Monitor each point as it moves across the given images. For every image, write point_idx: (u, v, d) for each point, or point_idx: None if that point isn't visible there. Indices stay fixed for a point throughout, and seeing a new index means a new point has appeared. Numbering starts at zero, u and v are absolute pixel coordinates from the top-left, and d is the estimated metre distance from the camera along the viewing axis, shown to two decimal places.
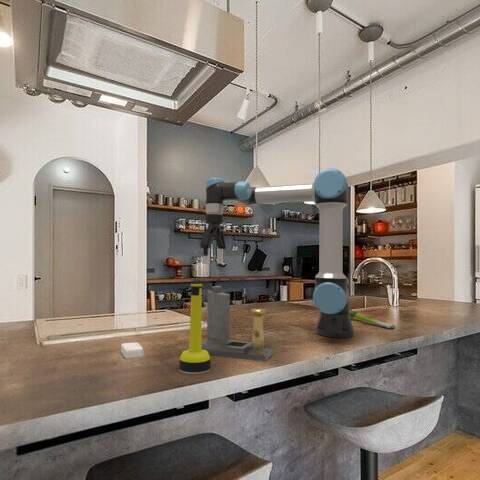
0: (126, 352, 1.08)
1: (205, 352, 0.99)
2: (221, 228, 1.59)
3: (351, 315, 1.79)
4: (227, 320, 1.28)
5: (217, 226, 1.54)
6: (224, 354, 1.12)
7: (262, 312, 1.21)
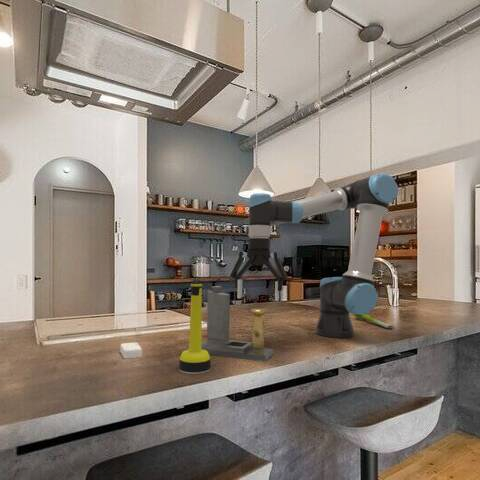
0: (124, 352, 1.08)
1: (205, 352, 0.99)
2: (274, 254, 1.22)
3: (358, 315, 1.80)
4: (227, 320, 1.28)
5: (260, 252, 1.23)
6: (224, 354, 1.12)
7: (262, 312, 1.21)
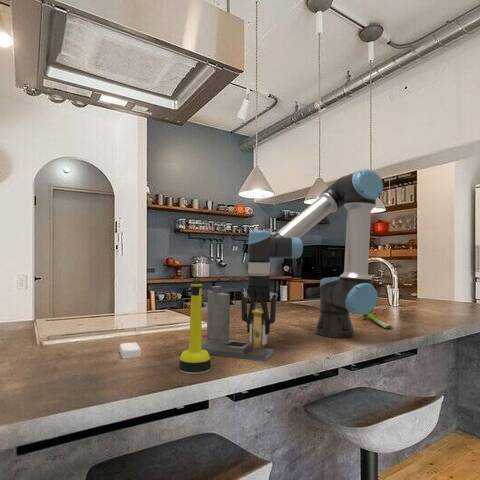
0: (123, 352, 1.08)
1: (205, 352, 0.99)
2: (273, 296, 1.21)
3: (365, 314, 1.81)
4: (227, 320, 1.28)
5: (262, 287, 1.22)
6: (224, 354, 1.12)
7: (262, 312, 1.21)
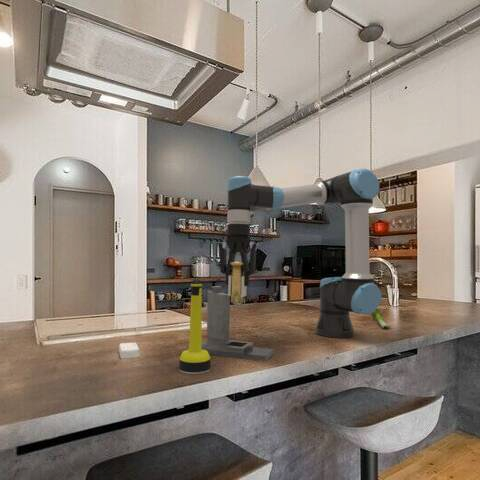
0: (121, 352, 1.08)
1: (205, 352, 0.99)
2: (253, 245, 1.14)
3: (373, 315, 1.81)
4: (227, 320, 1.28)
5: (241, 236, 1.15)
6: (224, 354, 1.12)
7: (241, 264, 1.14)
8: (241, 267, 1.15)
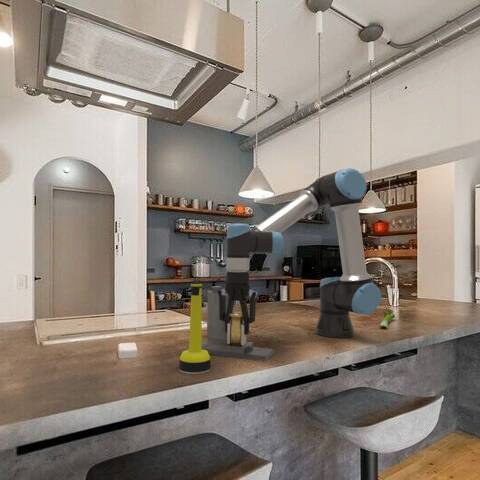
0: (119, 352, 1.07)
1: (205, 352, 0.99)
2: (252, 293, 1.13)
3: (385, 315, 1.80)
4: None
5: (240, 284, 1.14)
6: (224, 354, 1.12)
7: (241, 316, 1.13)
8: (240, 319, 1.14)
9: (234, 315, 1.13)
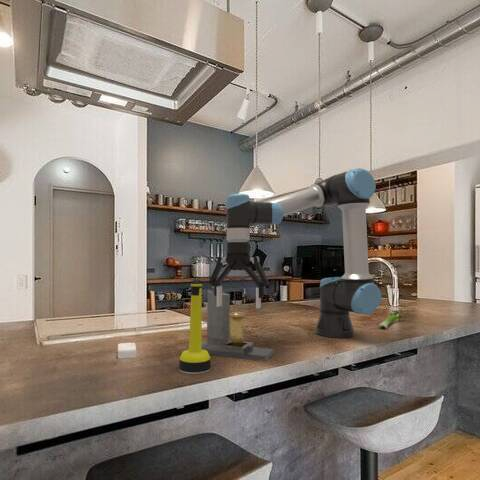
0: (118, 352, 1.07)
1: (205, 352, 0.99)
2: (253, 259, 1.14)
3: (390, 316, 1.78)
4: (227, 320, 1.28)
5: (240, 257, 1.15)
6: (224, 354, 1.12)
7: (241, 316, 1.13)
8: (240, 319, 1.14)
9: (234, 315, 1.13)
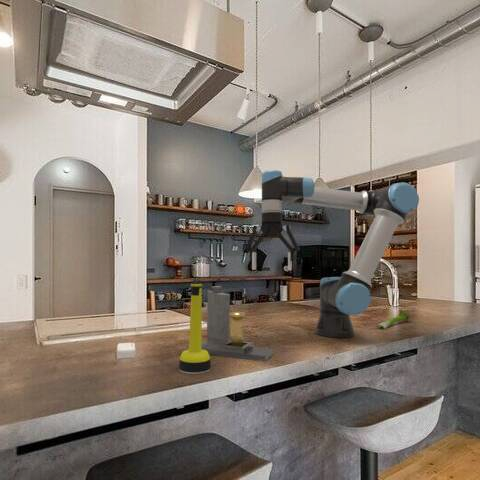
0: (117, 352, 1.07)
1: (205, 352, 0.99)
2: (286, 227, 1.29)
3: (397, 316, 1.77)
4: (227, 320, 1.28)
5: (273, 226, 1.31)
6: (224, 354, 1.12)
7: (241, 316, 1.13)
8: (240, 319, 1.14)
9: (234, 315, 1.13)
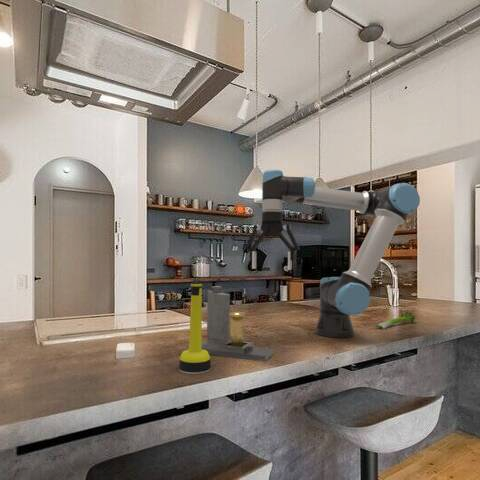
0: (116, 352, 1.07)
1: (205, 352, 0.99)
2: None
3: None
4: (227, 320, 1.28)
5: (273, 225, 1.31)
6: (224, 354, 1.12)
7: (241, 316, 1.13)
8: (241, 319, 1.14)
9: (234, 315, 1.13)
